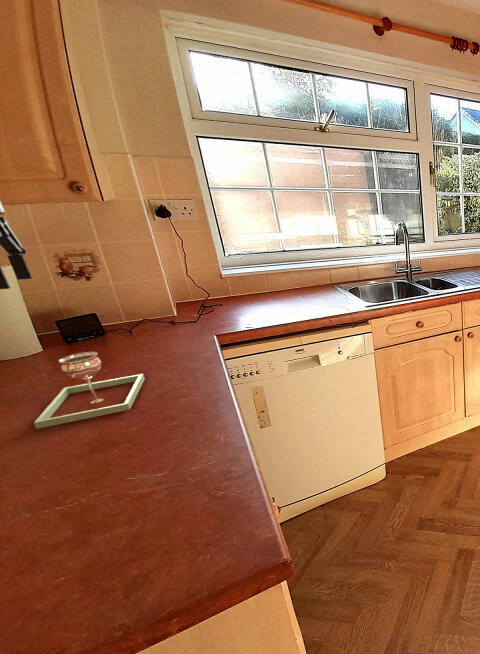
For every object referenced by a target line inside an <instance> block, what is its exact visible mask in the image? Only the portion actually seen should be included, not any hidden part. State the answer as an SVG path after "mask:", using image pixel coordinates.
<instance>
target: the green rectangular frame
mask: <svg viewBox="0 0 480 654" xmlns="http://www.w3.org/2000/svg"><path fill="white" fill-rule="evenodd" d="M145 380H146V378H145V376H144V373H140V374H135V375H129V376H123V377H118V378H111V379H107V380H101V381H100V380H99V381H94V382H91V383H92V385H93V388H94V390H98V389H103V388H108V387H114V386H118V385H119V386H120V385H125V384H129V383H134V384H133V385H132V387H131V389H130V391H129V393H128V394H127V397H126V398H125V400H124V402H123V403H119V404H115V405H109V406H104V407H100V408H99V407H98V408H95V409H90V410H84V411H80V412H75V413H69V414H64V415H59V416H54V417H52V416H53V414H54V413H55V412H56V411H57V410H58V408H60V406H61V405H62V404H63V402H64V401H65V400H66V399H67V397H69V395H70V394H75V393H81V392H85V391H91V390H90V388H89V386H88V384H87V383H82V384H78V385H77V384H76V385H73V386H67V387H63V388H62V390H60V392H59V393H58V394H57V395H56V397H54V398H53V399H52V401H51V402H50V403H49V404H48V405H47V406H46V408H45V409H44V410H43V411H42V413H40V415H39V416H38V417H37V418H36V419H35V421H34V422H33V424H34V427H35V429H37V430H38V429H42V428H47V427H52V426H57V425H61V424H67V423H72V422H75V421H81V420H86V419H90V418H91V419H92V418H96V417H100V416H106V415H111V414H114V413H119V412H125V411H130V410H131V408H132V406H133V404H134V402H135V400H136V398H137V396H138V394H139V392H140V389H141V388H142V386H143V383H144V382H145Z"/></svg>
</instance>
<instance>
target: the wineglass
mask: <svg viewBox="0 0 480 654" xmlns="http://www.w3.org/2000/svg"><path fill="white" fill-rule="evenodd" d="M98 355H99V354H98V352H97V351H85V352H78V353H73V354H69V355H67V356H64V357H61V358H60V359H58V363H60V364H61V365H60V370H61V371H62V373H63V374H65V375H66V376H67V377H69V378H70V377H71V378H73V379H81V380H83V381H85V382H86V384H88V386H89V388H90V390H89V391H90V392H91V394H92V396H93V398H94V399H93V400H91V401H90V404H98V403H100V402H103V401H104V398H98V396H97V394H96V391H95V389H94V388H93V385H92V383H93V382H92V380H91V379H92V378H93V376H95V375H96V374H98V373H99V371H100V370H101V368H102V365H103V363H102V360H101V359H100V357H98Z"/></svg>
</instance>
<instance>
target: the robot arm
mask: <svg viewBox="0 0 480 654" xmlns="http://www.w3.org/2000/svg"><path fill="white" fill-rule="evenodd" d="M2 203H3V202H2V201H1V199H0V215H5V214H6V210H5V208H4V205H3V204H2ZM0 246H1V248H3V249H4V250H5V252H6V253H7V254H8V255H7V258H8V261H9V263H10V265H11V268H12V270H13V272H14V274H15V277H16V280H17V281H19V280H31V279H33V276H32V274H31V271H30V269H29V266H28V264H27V261H26V259H25V257H24V255H27V250H26V248H25V247H24V246H23V244H22V242H21V241H20V239H19V238H18V236H17V235H16V233H15V232H14V231H13V229H12V228H11V226H10V224H9V222H8V219H7V218H6V217H5V216H0ZM9 289H11V286H10V284H9V282H8V279H7V277H6V275H5V273H4V270H3V268H2V266H1V265H0V290H9Z"/></svg>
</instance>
